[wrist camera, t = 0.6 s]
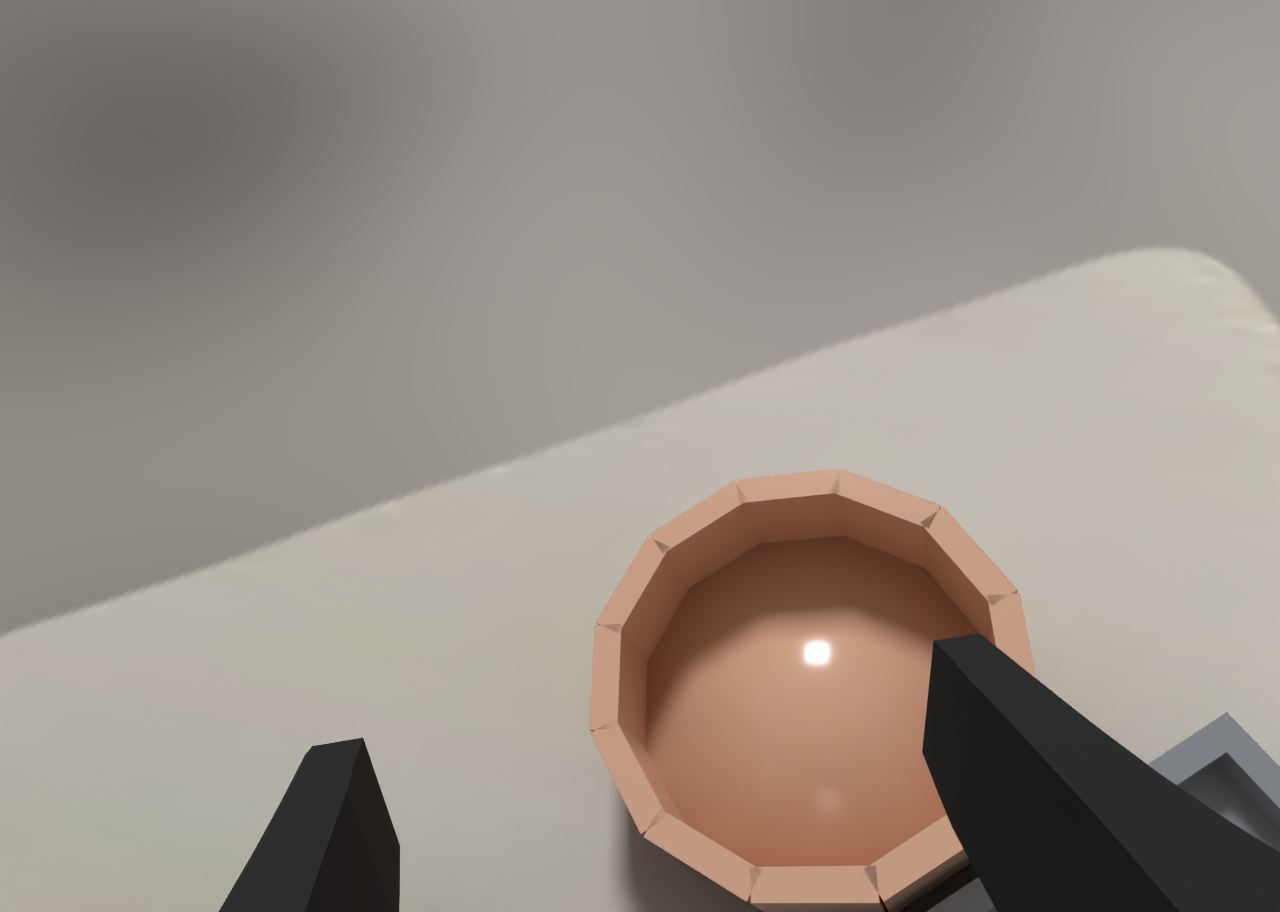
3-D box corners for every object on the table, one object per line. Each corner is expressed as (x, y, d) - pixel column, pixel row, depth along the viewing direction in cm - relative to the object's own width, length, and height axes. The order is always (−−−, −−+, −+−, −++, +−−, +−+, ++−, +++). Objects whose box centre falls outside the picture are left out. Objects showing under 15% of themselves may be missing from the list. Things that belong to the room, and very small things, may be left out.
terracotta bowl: (1120, 763, 25) (1143, 730, 22) (752, 1007, 24) (726, 1005, 22) (861, 462, 31) (852, 406, 29) (567, 649, 31) (528, 611, 28)
